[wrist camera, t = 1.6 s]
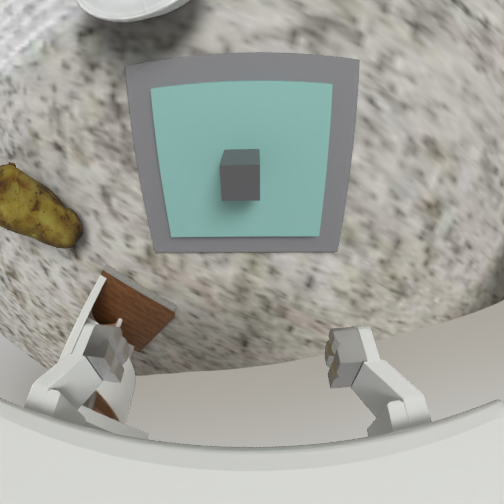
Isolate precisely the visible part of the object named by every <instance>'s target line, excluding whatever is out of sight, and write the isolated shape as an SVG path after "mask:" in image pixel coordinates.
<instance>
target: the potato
mask: <svg viewBox="0 0 504 504" xmlns="http://www.w3.org/2000/svg"><path fill="white" fill-rule="evenodd" d="M0 226H1V227H4V228H6V229H7V230H11V231H13V232H15V233H19V234H22V235H26V236H29V237H32V238H35V239H37V240H38V241H40V242H42V243H45V244H48V245H51V246H54V247H57V248H71V247H72V246H74V244H75V243H77V241H78V240H79V239H80V238H81V236H82V234H83V230H82V224H81V222H80V219H79V218H78V216H77V214H76V213H75V212H74V211H73V210H72V209H70V208H66V207H65V206H64V205H63V203H62V202H61V201H60V199H59V198H58V197H57V196H56V195H55V194H54V193H53V192H52V191H50V190H49V189H48V188H47V187H46V186H44V185H43V184H41V183H40V182H38V181H36V180H34V179H33V178H31V177H30V176H28V175H27V174H25V173H24V172H22V171H21V170H19V169H18V168H16V165H15V164H14V163H10V162H9V164H7V165H1V166H0Z"/></svg>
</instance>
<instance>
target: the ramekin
mask: <svg viewBox="0 0 504 504" xmlns="http://www.w3.org/2000/svg"><path fill="white" fill-rule="evenodd" d="M188 1H190V0H76V2H77V3H78V5H79V6H80V7H81V8H82V9H83V10H84V11H85V12H87V13H88V14H90V15H92V16H94V17H96V18H99V19H102V20H106V21H112V22H132V21H139V20H143V19H147V18H151V17H157V16H160V15H164V14H166V13H169V12H171V11H173V10H175V9H178V8H179V7H180V6H182V5H184V4H185V3H186V2H188Z"/></svg>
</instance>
